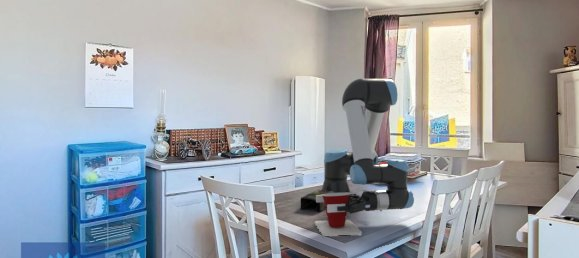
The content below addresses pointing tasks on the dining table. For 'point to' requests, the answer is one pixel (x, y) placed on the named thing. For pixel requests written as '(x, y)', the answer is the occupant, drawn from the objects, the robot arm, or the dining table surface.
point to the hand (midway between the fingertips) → (321, 203)
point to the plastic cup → (336, 217)
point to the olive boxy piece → (314, 199)
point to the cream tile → (337, 229)
